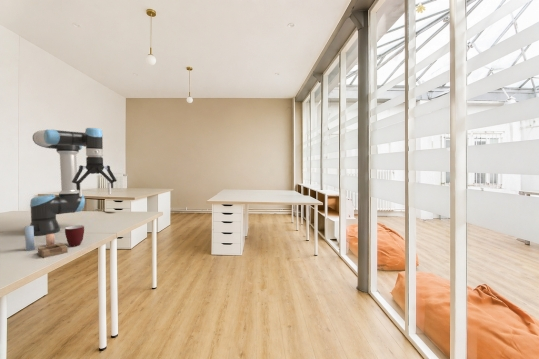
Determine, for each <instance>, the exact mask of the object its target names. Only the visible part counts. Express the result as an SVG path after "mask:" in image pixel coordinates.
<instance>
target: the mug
mask: <svg viewBox="0 0 539 359" xmlns="http://www.w3.org/2000/svg"><path fill="white" fill-rule="evenodd" d="M64 233H65V234H64V235H65V238H66V242H67V243H68V245H69V246H70V247H78V246H79V247H80V245H81V243H82V242H83V240H84V234H85V225H82V224H81V225H79V224H78V225H76V224H75V225H70V226H66V227H65V228H64Z"/></svg>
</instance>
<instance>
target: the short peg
mask: <svg viewBox="0 0 539 359" xmlns="http://www.w3.org/2000/svg"><path fill="white" fill-rule="evenodd" d="M45 240H46V242H45V243H46V245H45V246H49V245H54V244H55V233H52V234H47V235H45Z"/></svg>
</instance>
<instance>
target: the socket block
mask: <svg viewBox="0 0 539 359" xmlns="http://www.w3.org/2000/svg"><path fill="white" fill-rule="evenodd" d="M68 252H69V251H68V246H67V245H66V244H63V243H62V242H59V243H54V245H49V246H46V245H45V246H40V247H37V254H38V255H39V256H40V257H42V258H49V257H53V256H58V255H63V254H66V253H67V254H68Z"/></svg>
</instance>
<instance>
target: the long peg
mask: <svg viewBox="0 0 539 359" xmlns="http://www.w3.org/2000/svg"><path fill="white" fill-rule="evenodd" d="M24 239H25V240H24V241H25V251H26V252H27V251H28V252H29V251H33V250H35V236H34V226H30V225H27V226H24Z"/></svg>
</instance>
